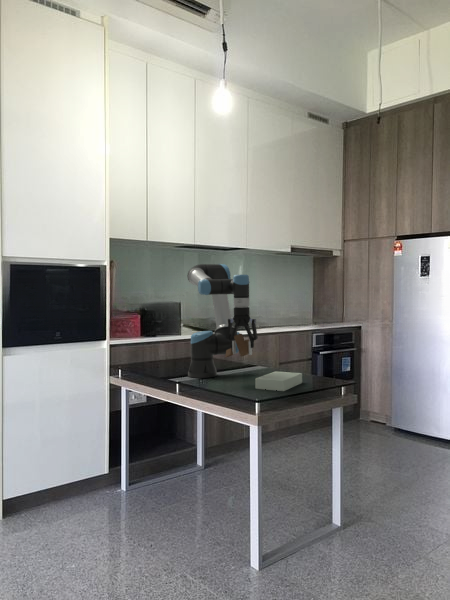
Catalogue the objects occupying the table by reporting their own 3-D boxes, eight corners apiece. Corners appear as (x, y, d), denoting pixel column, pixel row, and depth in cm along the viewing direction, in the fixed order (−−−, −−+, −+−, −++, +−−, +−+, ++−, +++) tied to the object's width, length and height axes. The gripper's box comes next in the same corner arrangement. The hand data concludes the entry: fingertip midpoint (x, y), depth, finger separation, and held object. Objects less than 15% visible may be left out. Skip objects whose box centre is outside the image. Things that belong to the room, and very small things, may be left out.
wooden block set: (246, 357, 249) (239, 338, 251) (260, 351, 244) (253, 332, 247) (226, 361, 234) (219, 340, 236) (240, 354, 229) (233, 334, 232)
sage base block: (255, 389, 226) (255, 378, 226) (275, 381, 245) (275, 371, 245) (284, 392, 219) (283, 380, 219) (302, 383, 238) (301, 373, 238)
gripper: (218, 307, 238) (219, 354, 239) (259, 307, 231) (260, 356, 231) (224, 306, 245) (225, 352, 246) (264, 306, 238) (265, 354, 238)
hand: (242, 354), depth 239 cm, fingers closed on wooden block set, 8 cm apart
